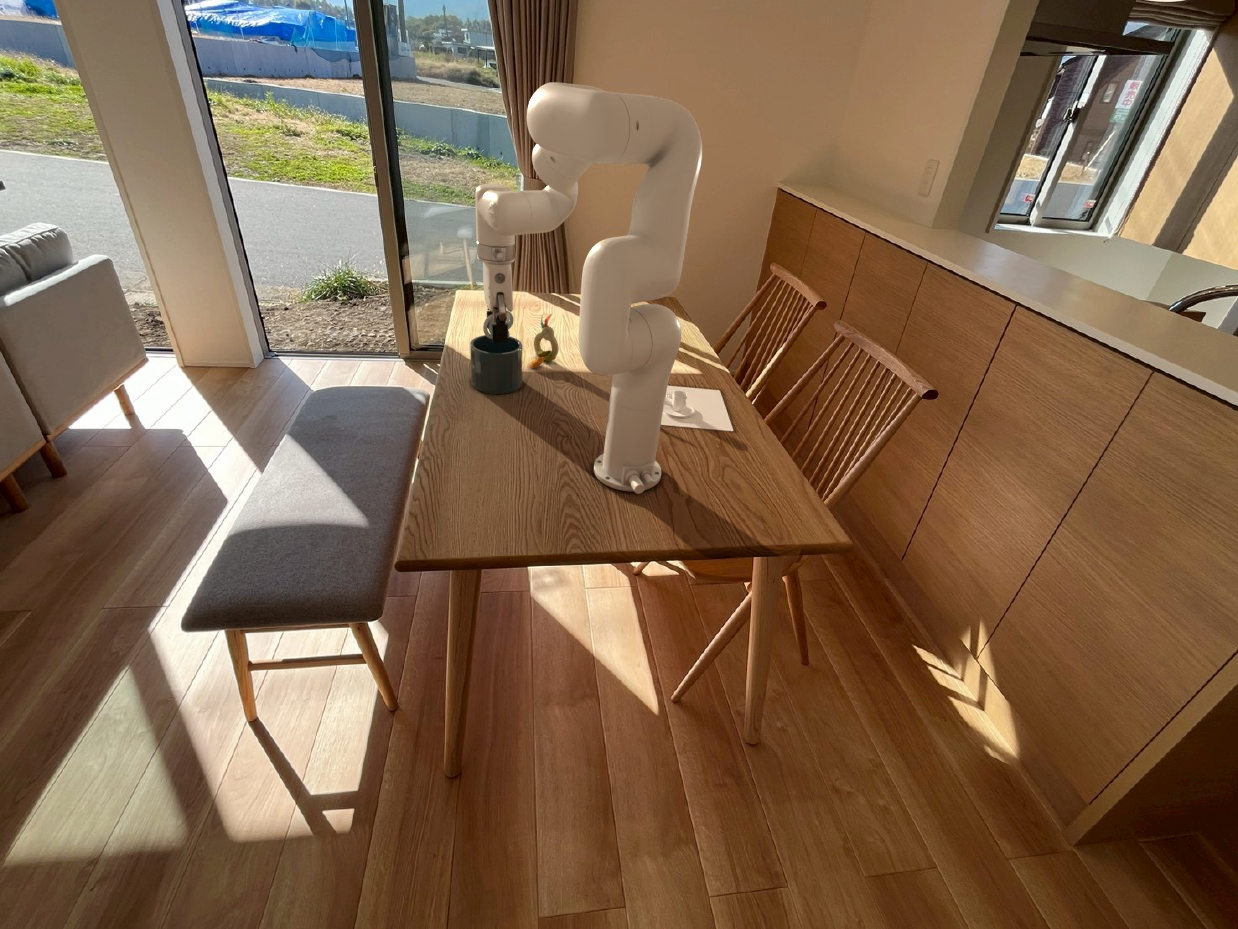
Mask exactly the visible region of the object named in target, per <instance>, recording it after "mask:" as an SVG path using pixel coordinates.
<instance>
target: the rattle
mask: <svg viewBox="0 0 1238 929" xmlns="http://www.w3.org/2000/svg"><path fill="white" fill-rule="evenodd" d="M552 315H553V314H552V313H550V314H548V316H547V317H545V320H544V322H543V316H541V318H540V327H541V329H542V330H541V331H539V332H538V333H536V334H535V336H534V339H533V349H534V352H535V354H536V357H537V358H535V359H534V360H532V361H531V362H530V364H529V368H531V369H535V368H537V367H539V366H541V365H542V364H543V363H544V361H546V362H552V361H555V360H556V359H557V356H558V354H559V351H560V350H559V349H560V347H559V343H558V340H557V338H556V337H555V331H554V329H553V328H552V327H551V326H549V324H548V323H549V320H550V318H551V317H552ZM543 339H544V340H545V341H548V342H549V343H550V346H551V349H550V350H549V349H548V350H543V349H542V346H541V341H542V340H543Z"/></svg>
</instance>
